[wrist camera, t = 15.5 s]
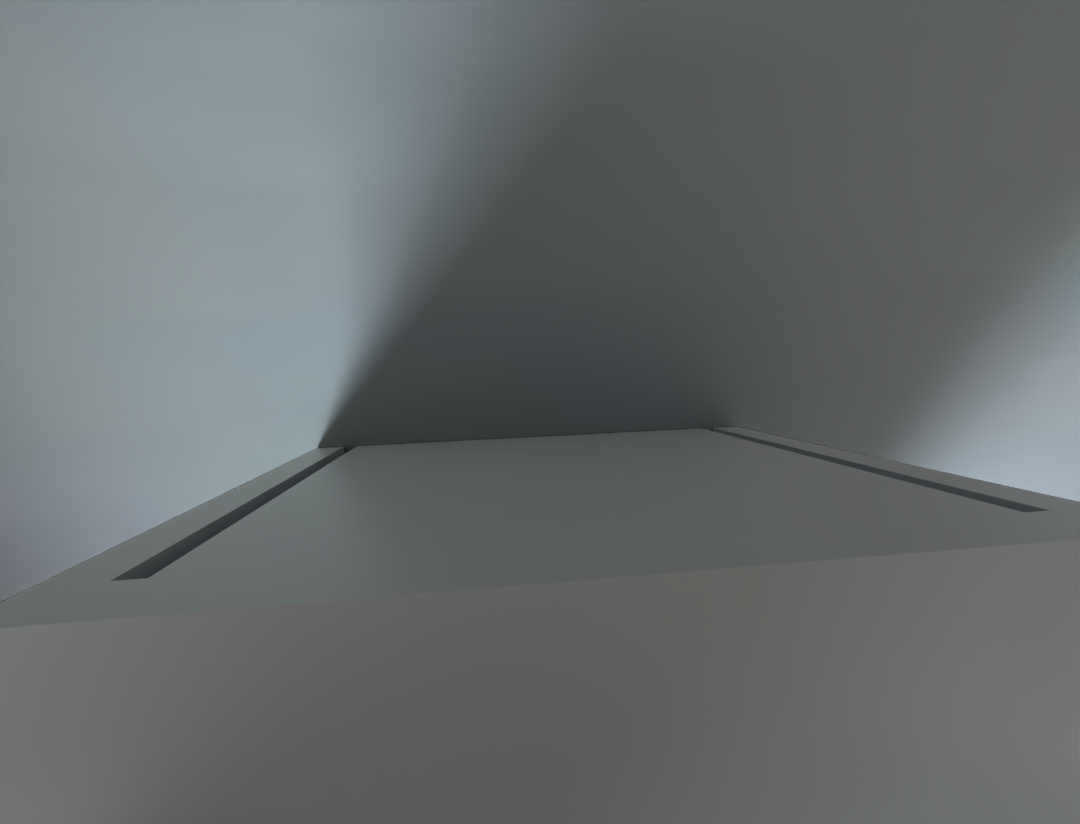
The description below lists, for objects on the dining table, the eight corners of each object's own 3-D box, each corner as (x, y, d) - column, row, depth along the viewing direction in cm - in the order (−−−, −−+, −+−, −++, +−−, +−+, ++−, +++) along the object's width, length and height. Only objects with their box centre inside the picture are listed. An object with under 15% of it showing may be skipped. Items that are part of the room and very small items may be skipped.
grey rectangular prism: (738, 804, 14) (1140, 1471, 6) (346, 856, 13) (92, 1793, 5) (736, 426, 14) (1203, 528, 5) (316, 447, 12) (-65, 634, 4)
